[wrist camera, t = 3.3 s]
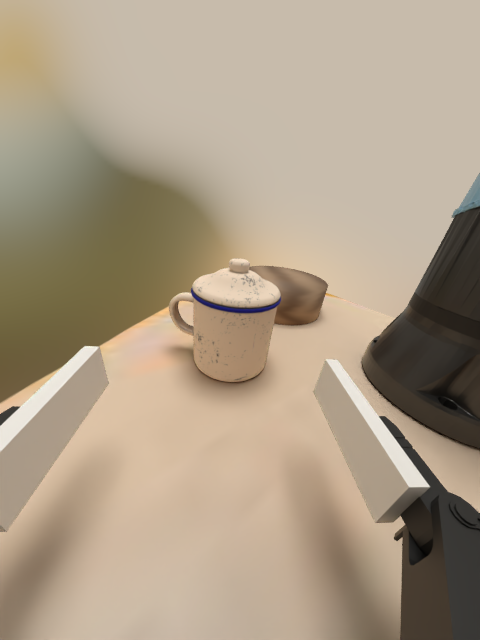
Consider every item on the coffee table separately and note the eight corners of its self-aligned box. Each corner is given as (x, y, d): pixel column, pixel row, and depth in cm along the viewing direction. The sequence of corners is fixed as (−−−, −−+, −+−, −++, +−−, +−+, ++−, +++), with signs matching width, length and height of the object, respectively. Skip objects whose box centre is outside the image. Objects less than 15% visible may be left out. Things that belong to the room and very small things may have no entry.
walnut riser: (302, 294, 49) (309, 269, 46) (333, 329, 35) (345, 296, 32) (236, 289, 48) (238, 263, 45) (239, 322, 34) (243, 287, 31)
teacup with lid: (269, 344, 28) (287, 258, 23) (263, 394, 20) (288, 280, 15) (187, 328, 30) (186, 244, 25) (152, 368, 22) (138, 257, 17)
